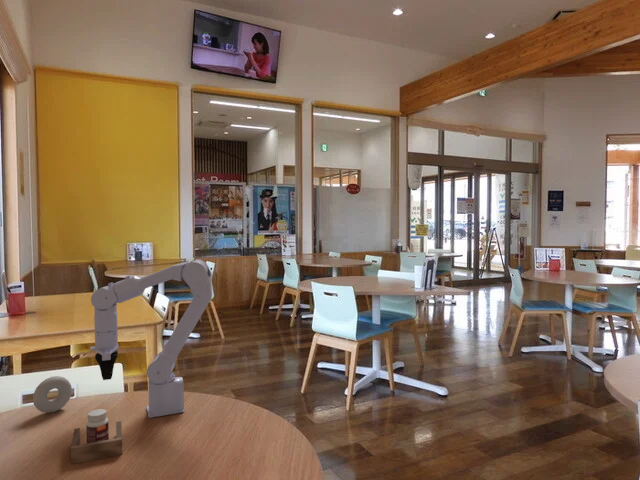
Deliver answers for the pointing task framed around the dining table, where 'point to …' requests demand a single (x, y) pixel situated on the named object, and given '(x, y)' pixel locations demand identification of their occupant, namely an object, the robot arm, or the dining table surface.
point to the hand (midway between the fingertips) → (107, 378)
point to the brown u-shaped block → (96, 447)
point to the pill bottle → (97, 426)
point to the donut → (45, 387)
